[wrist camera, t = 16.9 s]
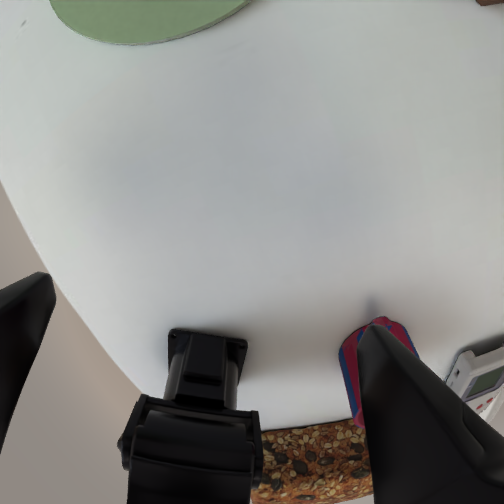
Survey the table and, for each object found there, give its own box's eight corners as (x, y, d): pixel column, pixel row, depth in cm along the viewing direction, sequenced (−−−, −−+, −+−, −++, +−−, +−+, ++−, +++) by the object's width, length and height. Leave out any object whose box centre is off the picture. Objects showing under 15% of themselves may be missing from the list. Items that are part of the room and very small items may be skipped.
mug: (337, 376, 28) (350, 436, 22) (338, 297, 23) (361, 367, 17) (401, 362, 27) (422, 417, 21) (417, 282, 22) (455, 342, 16)
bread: (255, 458, 38) (256, 518, 30) (244, 428, 33) (242, 503, 24) (381, 440, 37) (394, 497, 28) (396, 405, 32) (417, 475, 23)
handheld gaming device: (424, 415, 34) (432, 437, 31) (458, 347, 27) (472, 373, 23) (473, 397, 33) (482, 417, 30) (512, 328, 26) (527, 349, 23)
